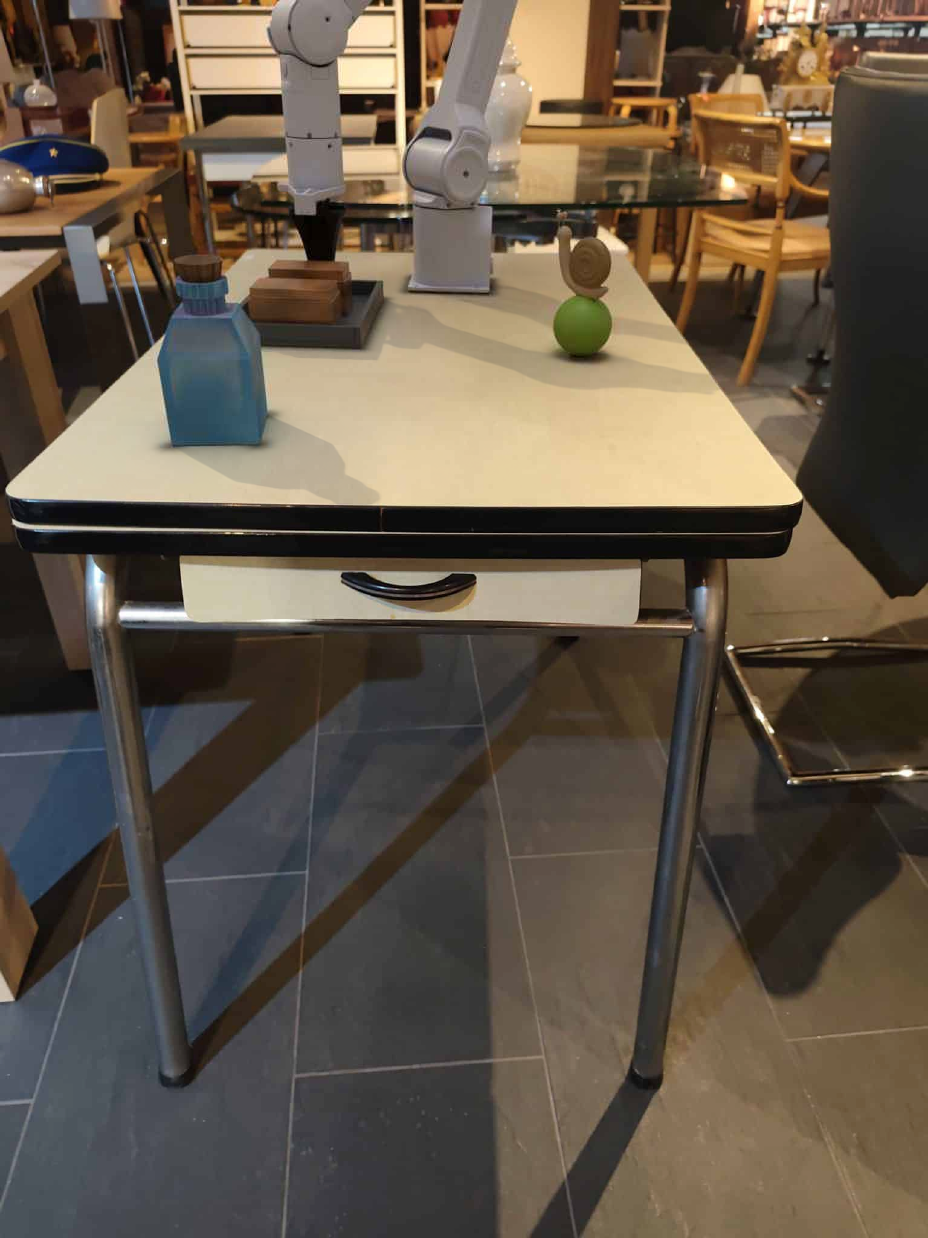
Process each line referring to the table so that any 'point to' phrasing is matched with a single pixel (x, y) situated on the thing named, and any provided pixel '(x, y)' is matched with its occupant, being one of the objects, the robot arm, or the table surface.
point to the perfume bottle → (211, 362)
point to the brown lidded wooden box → (318, 275)
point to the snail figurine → (583, 294)
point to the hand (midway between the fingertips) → (322, 275)
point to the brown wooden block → (295, 301)
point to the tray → (333, 336)
